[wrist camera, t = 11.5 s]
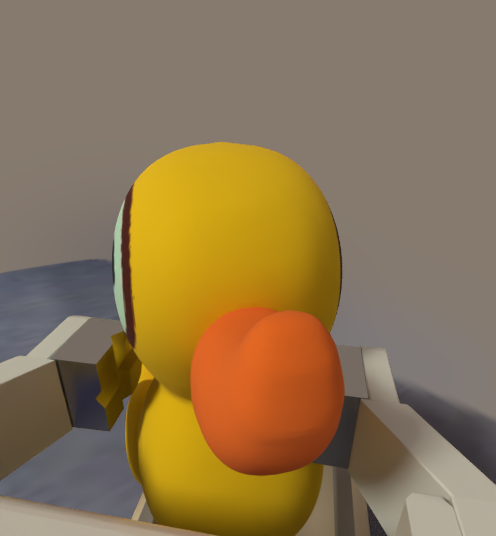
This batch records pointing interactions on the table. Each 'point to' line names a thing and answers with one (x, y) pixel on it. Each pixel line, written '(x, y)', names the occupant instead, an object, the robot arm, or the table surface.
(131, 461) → the duckling
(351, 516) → the shallow wooden tray
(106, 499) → the table surface
